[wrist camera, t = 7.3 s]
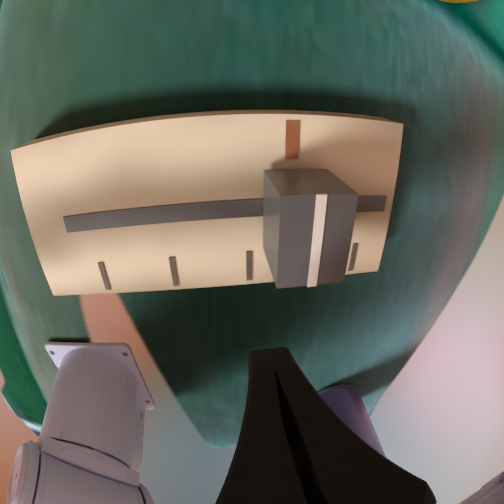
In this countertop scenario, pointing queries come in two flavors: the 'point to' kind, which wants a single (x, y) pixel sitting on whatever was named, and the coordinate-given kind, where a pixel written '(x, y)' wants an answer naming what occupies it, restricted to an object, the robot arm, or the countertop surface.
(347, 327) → the countertop surface
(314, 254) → the fader
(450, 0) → the lemon
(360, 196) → the console
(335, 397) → the beverage can
